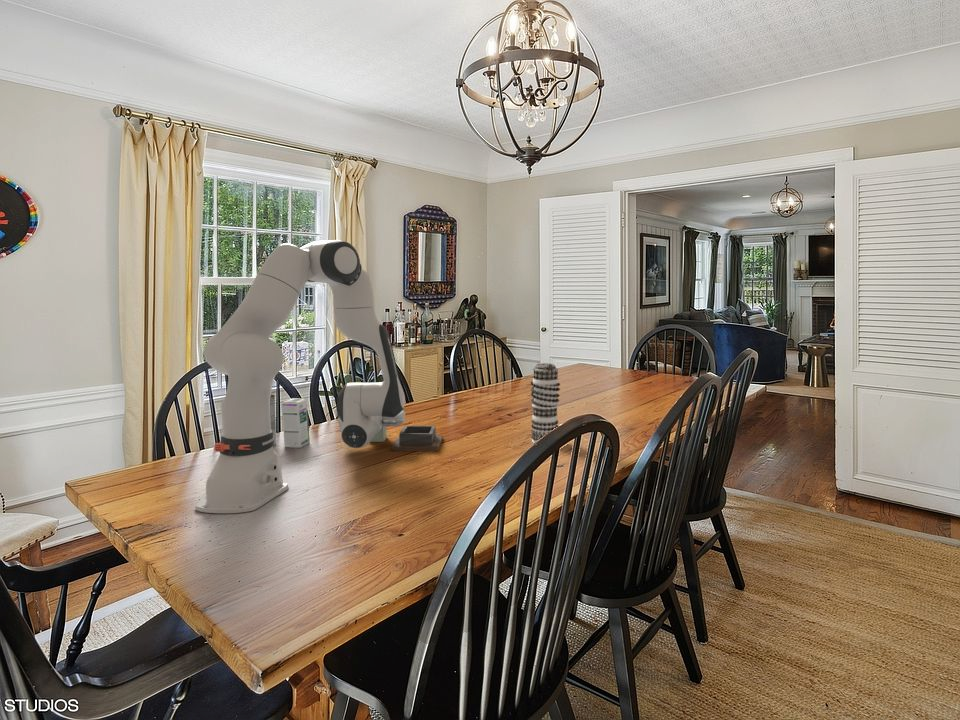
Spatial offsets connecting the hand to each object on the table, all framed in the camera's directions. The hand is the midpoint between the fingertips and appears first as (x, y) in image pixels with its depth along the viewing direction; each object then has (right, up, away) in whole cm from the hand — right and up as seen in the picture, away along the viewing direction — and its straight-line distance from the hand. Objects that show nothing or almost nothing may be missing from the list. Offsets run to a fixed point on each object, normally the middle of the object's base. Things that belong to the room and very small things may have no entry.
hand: (377, 411), depth 186 cm
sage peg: (0, -9, 0) cm, 9 cm away
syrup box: (-24, -10, -6) cm, 27 cm away
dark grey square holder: (+14, -10, -5) cm, 18 cm away
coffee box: (-36, -10, -5) cm, 38 cm away
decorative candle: (+54, -10, -3) cm, 55 cm away
